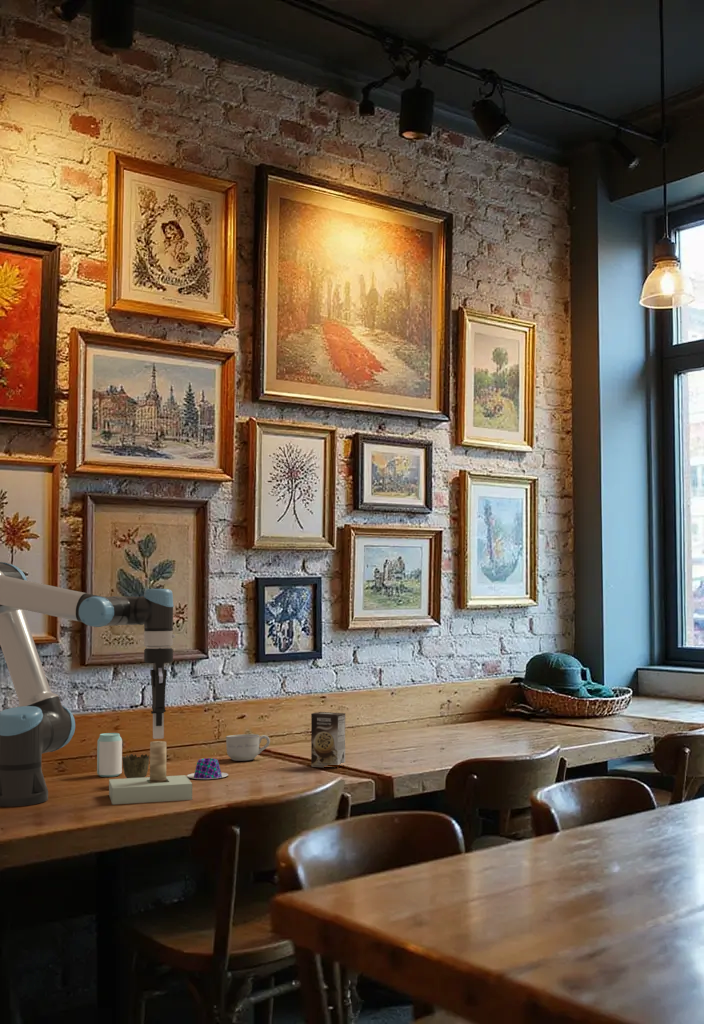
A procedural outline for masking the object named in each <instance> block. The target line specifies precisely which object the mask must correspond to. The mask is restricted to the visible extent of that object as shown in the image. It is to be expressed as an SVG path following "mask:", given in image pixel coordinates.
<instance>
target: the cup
mask: <svg viewBox="0 0 704 1024" xmlns="http://www.w3.org/2000/svg"><path fill="white" fill-rule="evenodd" d="M149 766H150V754H149V755H147V754H140V756H137V754H132V753H131V754H130V755H128V754H126V756H125V755H122V768H123V769H122V770H123V773H124V775H125V778H143V777H146V776H147V774H148V770H149Z"/></svg>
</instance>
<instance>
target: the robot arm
mask: <svg viewBox="0 0 704 1024" xmlns="http://www.w3.org/2000/svg"><path fill="white" fill-rule="evenodd" d="M143 593H144V594H143V595H142V596H120V595H119V596H118V595H117V596H116V595H115V596H104V595H103V596H101V595H97V594H92V593H87V592H84V591H83V592H82V591H77V590H72V589H67V588H63V587H59V586H54V585H49V584H45V583H40V582H35V581H31V580H28V579H27V576H26V575H25V573H24V572H23V570H21V568H19V567H18V566H17V565H14V564H12V563H11V564H10V563H8V562H2V561H0V647H1V651H2V654H3V657H4V660H5V663H6V667H7V669H8V672H9V675H10V678H11V681H12V685H13V688H14V690H15V694H16V696H17V699H18V702H19V704H18V706H15V707H10V708H5V709H3V710H1V711H0V807H2V808H3V807H24V806H31V805H32V806H33V805H37V804H38V805H39V804H41V803H44V802H45V803H46V802H47V801H48V800H49V789H48V787H47V783H46V780H45V777H44V774H43V770H42V757H43V756H42V754H46V753H53V752H56V751H58V750H60V749H62V748H63V747H64V748H65V747H66V745H68V744H69V743H70V741H72V738H73V736H74V734H75V730H76V719H75V716H74V715H73V713H72V711H71V710H70V709H68V708H67V707H65V706H63V705H62V701H61V699H60V696H59V695H58V694H56V693H55V692H52V691H51V688H50V686H49V685H50V684H49V681H48V679H47V676H46V673H45V670H44V668H43V665H42V664H43V663H42V661H41V658H40V656H39V655H40V654H39V653H38V650H37V647H36V643H35V641H34V638H33V634H32V632H31V629H30V625H29V623H28V620H27V618H26V614H25V611H28V612H32V613H37V614H43V615H46V616H51V617H57V618H62V619H65V620H71V621H75V622H79V623H83V624H85V625H86V626H89V627H92V628H93V627H94V628H102V627H107V626H108V627H109V626H110V627H111V626H112V627H114V626H133V625H134V626H135V625H136V626H137V625H138V626H143V627H144V630H143V646H144V647H145V649H144V650H143V662H144V663H145V664H152V669H150V671H149V672H150V673H149V674H150V678H151V679H150V684H151V708H152V710H151V712H150V714H152V739H153V740H162V739H163V740H164V738H165V724H164V723H165V713H166V712H167V711H166V685H167V676H168V670H167V669H165V663H166V664H168V663H172V662H173V661H174V649H173V648H172V646H173V645H174V639H176V634H174V606H175V605H174V595H173V593H174V592H173V591H172V590H171V589H169V588H146V589H145V590H144V592H143Z"/></svg>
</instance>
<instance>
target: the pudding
mask: <svg viewBox="0 0 704 1024" xmlns="http://www.w3.org/2000/svg"><path fill="white" fill-rule="evenodd" d="M228 776H229V773H227V772H222V771H221V767H220V763H219V760H218V759H217V758H212V757H211V758H210V757H207V758H199V759H198V760H197V761H196V766H195V769H194V773H193V772H192V773H190V774H189V773H188V774H187V775H186V777H187V778H188V779H192V780H193V779H194V780H217V779H222V778H225V777H228Z"/></svg>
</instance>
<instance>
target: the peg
mask: <svg viewBox="0 0 704 1024" xmlns="http://www.w3.org/2000/svg"><path fill="white" fill-rule="evenodd" d="M166 776H167V741H164V740H163V741H162V740H155V741H150V742H149V777H150V783H164V782H166V780H167V778H166Z"/></svg>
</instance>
